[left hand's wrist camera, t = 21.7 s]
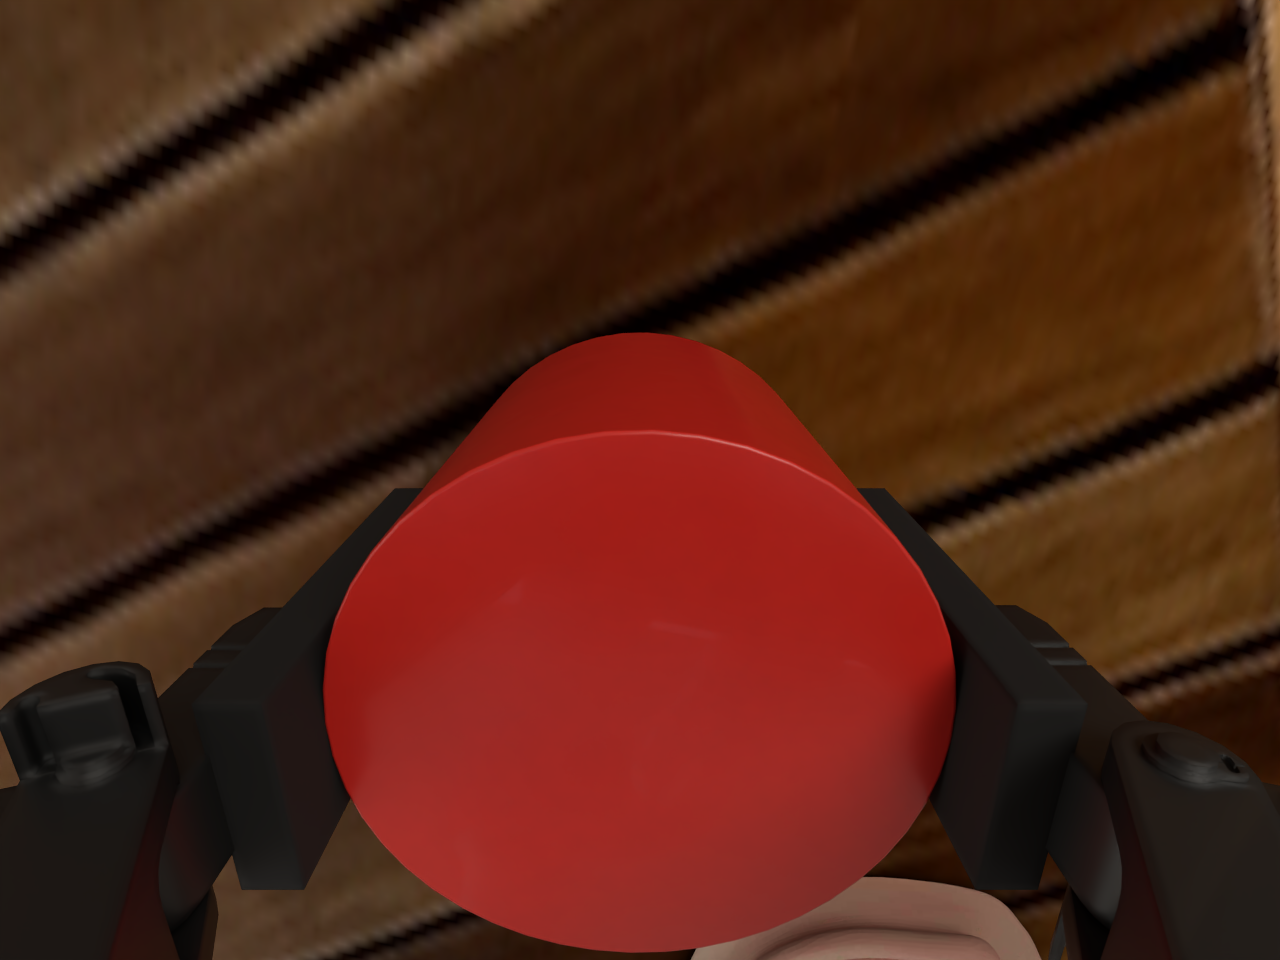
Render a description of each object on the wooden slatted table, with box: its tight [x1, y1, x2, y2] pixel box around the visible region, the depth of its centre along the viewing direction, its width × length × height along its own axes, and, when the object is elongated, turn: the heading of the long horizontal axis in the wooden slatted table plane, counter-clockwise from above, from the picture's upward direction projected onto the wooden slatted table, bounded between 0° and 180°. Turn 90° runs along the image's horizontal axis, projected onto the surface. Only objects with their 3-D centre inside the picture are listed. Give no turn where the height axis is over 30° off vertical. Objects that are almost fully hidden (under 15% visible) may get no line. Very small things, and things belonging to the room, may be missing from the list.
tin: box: [323, 333, 956, 953], centre depth 12 cm, size 8×8×8 cm
